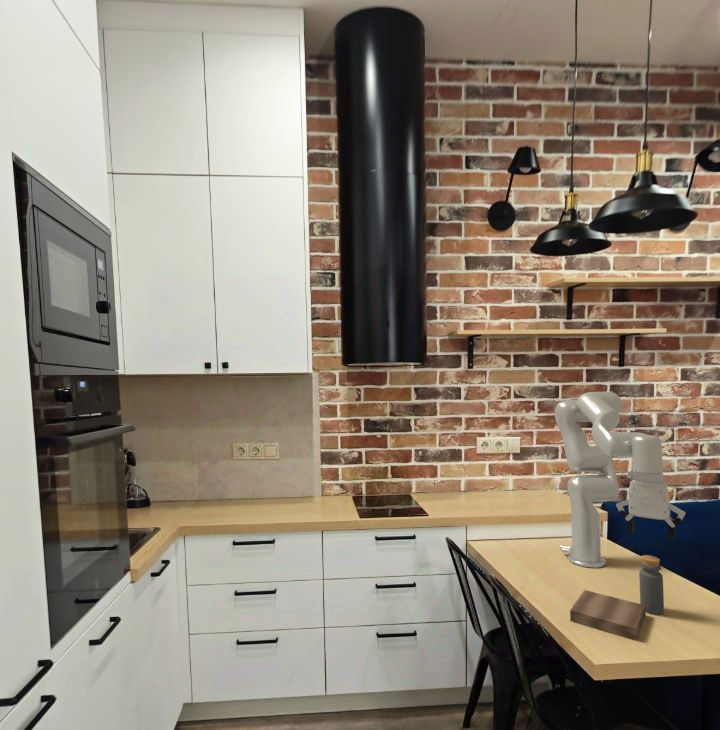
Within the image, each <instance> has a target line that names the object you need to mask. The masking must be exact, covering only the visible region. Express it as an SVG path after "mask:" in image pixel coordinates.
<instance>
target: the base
mask: <svg viewBox="0 0 720 730" xmlns="http://www.w3.org/2000/svg"><path fill="white" fill-rule="evenodd" d="M646 614H647V612H646V611H645V605H642V604H640V603H637V602H634V601H629V600H625V599H622V598H618V597H614V596H610V595H605V594H604V593H603V594H602V593H597V592H594V591H589V590H586V589H584V590H583V591H582V593H581V594H580V595H579V597H578V599H577V600H576V601H575V603H574V604H573V605H572V607H571V608H570V609H569V617H570V618H569V619H570V621H569V622H572V621H573V622H572V623H576V624H578V623H579V625H582V626H585V627H588V628H593V629H595V630H599V631H603V632H606V633H609V634H613V635H616V636H619V637H623V638H626V639H629V640H633V641H635V642H636V641H637V640H638V638H639V635H640V632H641V630H642V626H643V624H644V623H645V619H646V616H647V615H646Z"/></svg>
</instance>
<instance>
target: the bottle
mask: <svg viewBox="0 0 720 730" xmlns="http://www.w3.org/2000/svg"><path fill="white" fill-rule="evenodd" d="M640 559H641V562H640V567H641V568H642V569H640V570H639V571H638V572H639V576H638V577H639V601H640V603H639V604H642V605H645V611H646V614H650V615H653V616H661V615H664V614H665V601H664V599H665V597H664V576H663V574H662V573H661V572H659V571H661V570H662V565H660V561H661V560H660V558H659V557H657V556H654V555H650V554H649V555H647V554H645V555H644V554H643V555H641V556H640Z"/></svg>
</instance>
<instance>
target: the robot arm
mask: <svg viewBox="0 0 720 730" xmlns="http://www.w3.org/2000/svg"><path fill="white" fill-rule="evenodd" d="M622 410H623V400H622V399H621V397H620V396H619V395H618V394H617V393H615V392H613V391H588V392H585V393H582V394H581V395H580V396H579V397H578V398H577V399H566V400H562V401H560V402H558V403H557V404H556V406H555V408H554V418H555V422H556V425H557V427H558V430H559V432H560V434H561V437H562V444H563V448H564V452H565V458H566V462H567V466H568V468H569V469H570V470H571V471H572V472H577V473H579V472H580V473H583V472H585V473H586V472H587V473H588V472H589V473H590V472H596V474H580V475H579V474H578V475H574V476H572V477H570V478H569V479H568V481H567V492H568V495H569V503H570V512H571V513H570V516H571V517H570V519H571V520H570V521H571V545H569V546H568V545H565V544H560V550H561V551H562V553H568V555H567V560H568V561H569V562H571V563H573V564H575V565H577V566H580V567H585V568H602V567H604V566H606V563H607V561H606V559H605V558H604V557H602V555H601V549H602V548H601V547H602V546H601V521H600V513H599V511H598V509H597V508H596V506H595V505H594V504H593V502H612V501H615V500H617V499H618V498H619V495H620V487H619V481H618V477H617V472H616V468H615V463H614V459H613V458H618V457H619V458H620V457H621V458H623V457H624V458H627V457H630V458H632V471H627V477H630V478H632V480H631V481H630V482H629V487H628V499H625V500H623V501H619V502H617V503H616V504H615V507H616V508H617V510H618V512H619V514H620V515H621V516H622V517H623V518H624V519H625V520H626V528H627V529H626V530H627V532H629V535H630V536H632V535H634V533H635V525H634V519H633V517H638V518H644V519H653V520H658V521H659V520H661V521H665V522H666V523H667V524H668V526H667V538H668V539H667V540H668V542H672V541H673V539H675V538H676V533H675V531H676V529H675V527H677V525H678V524H680V523H681V522H682V521H683V519H684V517H685V515H686V511H684V510H682V509H680V508H679V507H677V506H675V505H673V504H671V502H670V495H669V490H668V487H667V486H668V485H667V483H665V482H664V469H663V468H664V465H663V463H664V462H663V448H662V447H663V444H662V443H663V442H662V440H661V437H660V436H657V435H651V434H646V433H644V432H637V431H636V432H635V431H633V432H631V431H630V432H628V431H627V432H626V431H624V432H623V431H622V432H618V431H617V432H616V431H615V432H611V431H612V430H614V429H616V428H617V426H618V425H619V423H620V421H621V420H620V419H621V418H620V413H621V411H622ZM576 422H577V423H582V422H583V423H586V422H588V423H589V422H591V424H592V427H591V436H592V439H593V442H594V444H595V445H589V443H588V438H587V434H586V432H585V431H584V429H583V428H582V427H581V426H579V424H577V423H576ZM626 506H628V512H627V511H626V510H625V509H624V507H626ZM671 511H672V512H674V513H676V514H677V517H676V518H674V519H673V518H672V517H671Z"/></svg>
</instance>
